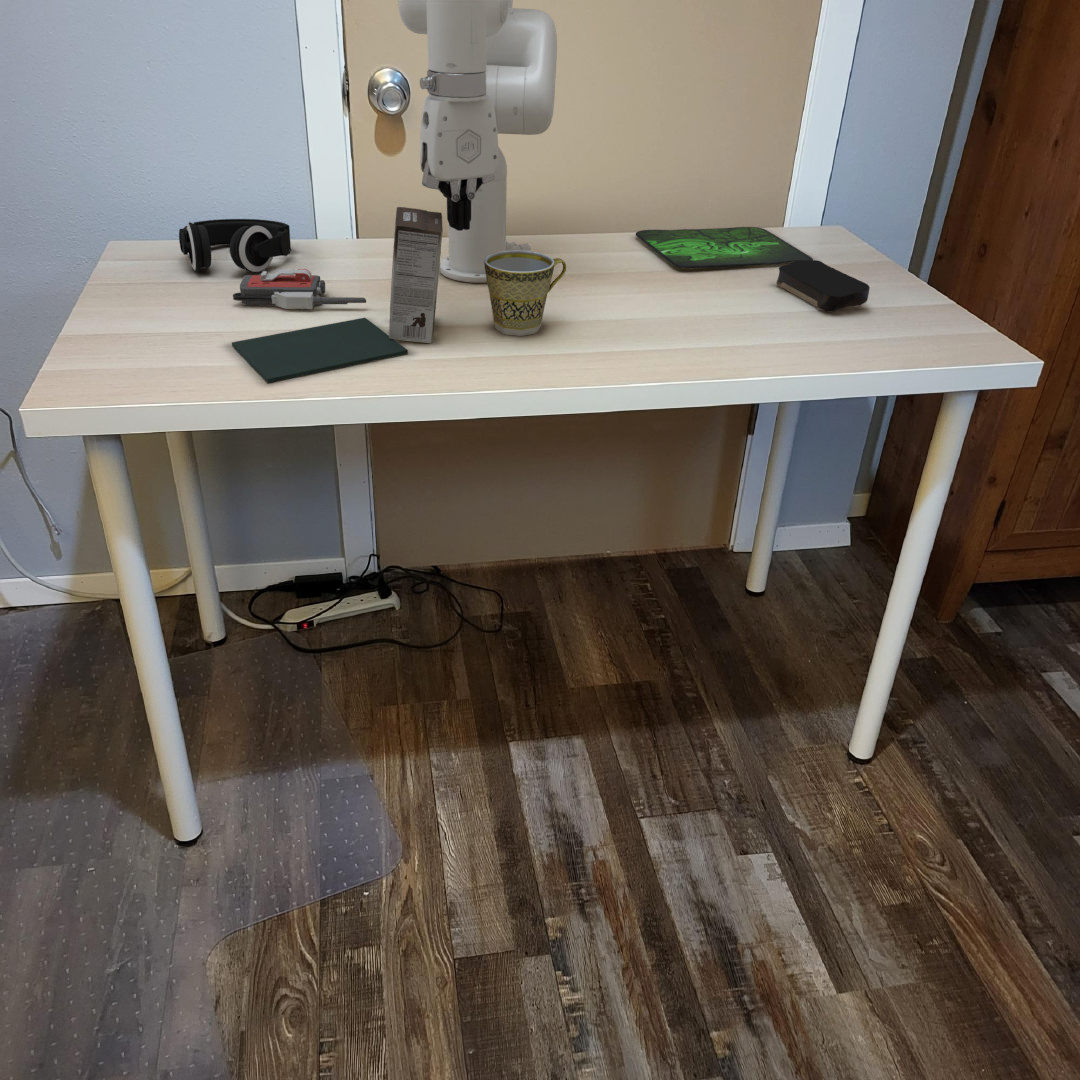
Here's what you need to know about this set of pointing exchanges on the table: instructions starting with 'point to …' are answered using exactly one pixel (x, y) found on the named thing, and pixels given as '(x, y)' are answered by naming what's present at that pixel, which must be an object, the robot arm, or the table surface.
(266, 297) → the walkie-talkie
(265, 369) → the mat
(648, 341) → the table surface
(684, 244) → the mouse mat
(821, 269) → the black flat block
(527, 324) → the ceramic cup
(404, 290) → the coffee box
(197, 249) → the headphones
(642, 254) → the table surface
